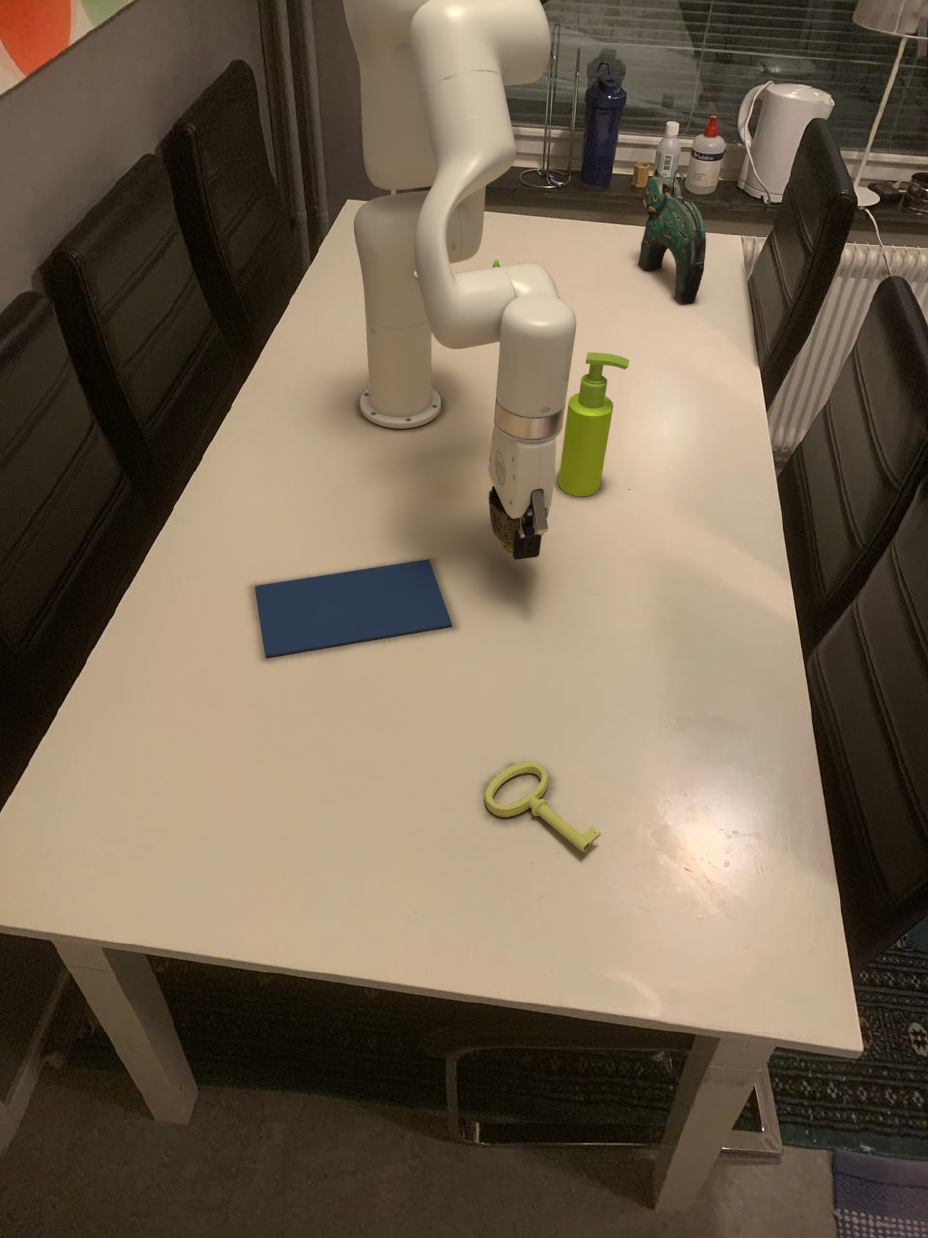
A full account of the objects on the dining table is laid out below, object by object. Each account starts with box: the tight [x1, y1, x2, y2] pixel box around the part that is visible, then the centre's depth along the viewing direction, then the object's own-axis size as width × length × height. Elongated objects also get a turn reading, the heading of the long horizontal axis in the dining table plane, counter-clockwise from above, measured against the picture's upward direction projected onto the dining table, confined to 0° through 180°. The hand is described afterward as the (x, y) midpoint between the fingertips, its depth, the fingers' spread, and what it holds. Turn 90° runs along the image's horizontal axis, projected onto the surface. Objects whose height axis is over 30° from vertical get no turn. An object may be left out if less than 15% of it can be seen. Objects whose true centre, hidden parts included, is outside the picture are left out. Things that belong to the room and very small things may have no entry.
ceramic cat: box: [638, 168, 707, 305], centre depth 168 cm, size 20×6×20 cm, turn 17°
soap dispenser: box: [558, 351, 630, 497], centre depth 122 cm, size 6×7×20 cm
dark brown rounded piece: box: [488, 485, 552, 554], centre depth 110 cm, size 8×7×8 cm
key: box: [483, 761, 602, 853], centre depth 91 cm, size 7×12×2 cm, turn 60°
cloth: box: [254, 558, 453, 659], centre depth 111 cm, size 12×22×1 cm, turn 105°
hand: (516, 535), depth 112 cm, fingers closed on dark brown rounded piece, 7 cm apart
